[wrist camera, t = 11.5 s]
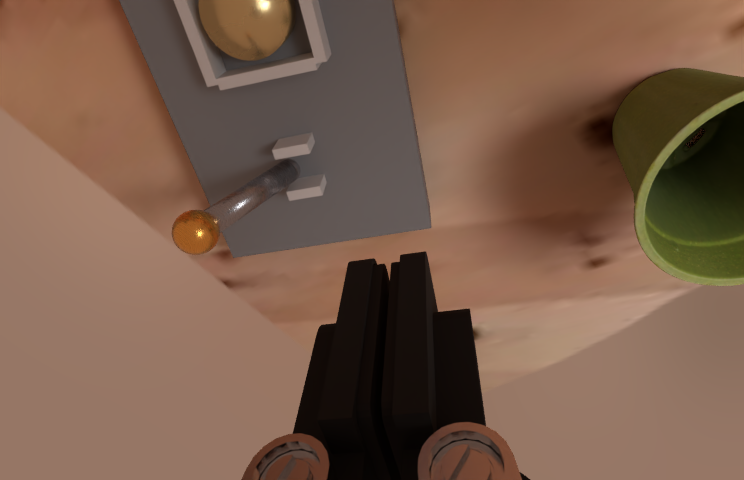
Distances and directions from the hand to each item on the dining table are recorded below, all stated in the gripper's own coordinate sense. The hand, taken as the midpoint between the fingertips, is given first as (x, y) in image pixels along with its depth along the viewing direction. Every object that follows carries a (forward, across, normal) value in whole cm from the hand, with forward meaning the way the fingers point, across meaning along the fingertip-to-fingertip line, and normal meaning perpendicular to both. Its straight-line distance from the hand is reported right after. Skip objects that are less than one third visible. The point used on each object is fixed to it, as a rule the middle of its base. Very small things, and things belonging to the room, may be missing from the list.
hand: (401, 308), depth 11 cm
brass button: (+22, +9, -5) cm, 25 cm away
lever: (+23, +9, +5) cm, 25 cm away
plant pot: (+26, -16, +8) cm, 32 cm away
